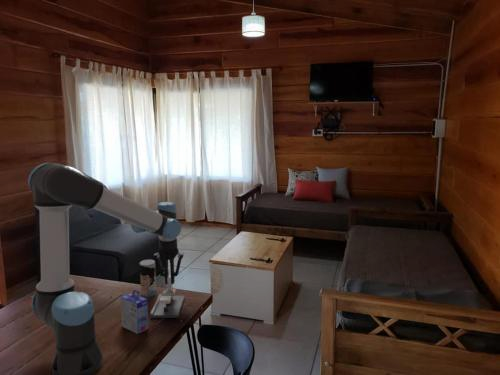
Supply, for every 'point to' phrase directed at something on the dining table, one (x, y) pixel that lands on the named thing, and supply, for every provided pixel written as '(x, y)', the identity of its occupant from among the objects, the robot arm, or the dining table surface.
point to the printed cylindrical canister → (148, 278)
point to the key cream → (165, 300)
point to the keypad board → (167, 308)
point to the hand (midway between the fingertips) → (170, 290)
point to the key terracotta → (173, 291)
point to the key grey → (168, 293)
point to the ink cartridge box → (134, 312)
